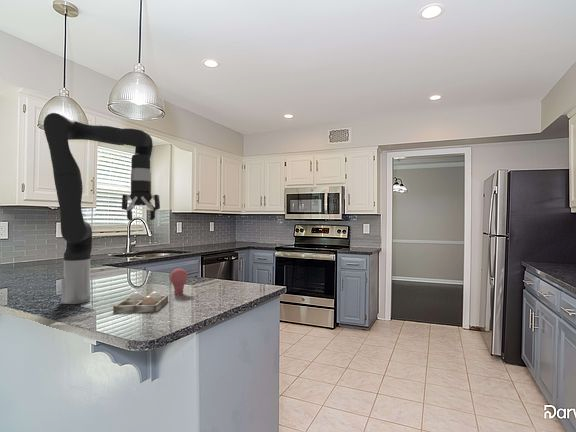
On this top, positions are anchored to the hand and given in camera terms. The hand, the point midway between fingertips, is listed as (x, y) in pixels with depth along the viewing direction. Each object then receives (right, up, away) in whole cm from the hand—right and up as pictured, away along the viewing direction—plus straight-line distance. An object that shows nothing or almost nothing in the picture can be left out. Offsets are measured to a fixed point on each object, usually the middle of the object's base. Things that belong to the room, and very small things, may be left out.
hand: (141, 220), depth 138 cm
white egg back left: (+1, -32, -7) cm, 33 cm away
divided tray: (+5, -33, -10) cm, 35 cm away
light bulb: (+12, -33, +9) cm, 37 cm away
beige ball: (+8, -32, -13) cm, 36 cm away
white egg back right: (+8, -32, -6) cm, 34 cm away
